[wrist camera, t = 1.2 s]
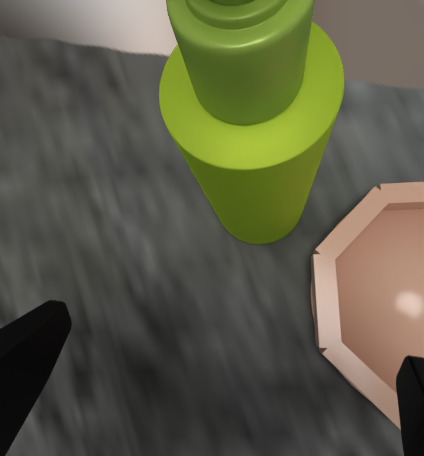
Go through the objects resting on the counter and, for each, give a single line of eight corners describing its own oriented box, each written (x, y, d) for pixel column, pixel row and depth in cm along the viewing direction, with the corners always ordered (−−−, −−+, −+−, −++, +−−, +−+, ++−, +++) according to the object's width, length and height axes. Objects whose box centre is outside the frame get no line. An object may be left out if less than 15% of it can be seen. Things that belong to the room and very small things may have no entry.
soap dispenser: (327, 172, 23) (602, -452, 4) (275, 261, 23) (309, 3, 3) (251, 135, 25) (192, -457, 6) (200, 217, 24) (-73, -138, 5)
